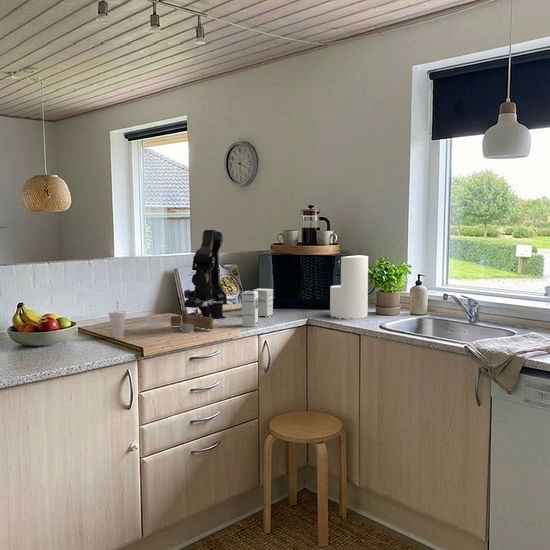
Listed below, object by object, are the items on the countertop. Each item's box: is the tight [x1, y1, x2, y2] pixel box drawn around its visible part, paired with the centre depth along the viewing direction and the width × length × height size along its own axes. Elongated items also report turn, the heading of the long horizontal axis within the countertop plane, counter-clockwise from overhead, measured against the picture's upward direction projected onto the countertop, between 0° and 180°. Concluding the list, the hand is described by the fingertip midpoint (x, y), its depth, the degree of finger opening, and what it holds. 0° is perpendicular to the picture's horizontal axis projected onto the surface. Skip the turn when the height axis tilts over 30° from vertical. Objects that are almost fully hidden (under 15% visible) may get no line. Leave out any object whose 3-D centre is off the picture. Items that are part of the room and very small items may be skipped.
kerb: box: [178, 321, 195, 333], centre depth 226 cm, size 9×3×3 cm, turn 29°
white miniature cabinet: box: [241, 290, 259, 328], centre depth 237 cm, size 6×6×14 cm
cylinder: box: [329, 255, 369, 319], centre depth 261 cm, size 17×17×28 cm
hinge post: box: [170, 309, 188, 327], centre depth 234 cm, size 2×7×7 cm, turn 119°
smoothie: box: [108, 300, 127, 338], centre depth 212 cm, size 6×6×14 cm
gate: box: [187, 314, 214, 331], centre depth 229 cm, size 2×14×5 cm, turn 50°
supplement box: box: [252, 288, 274, 318], centre depth 264 cm, size 7×7×13 cm
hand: (205, 321), depth 230 cm, fingers closed
